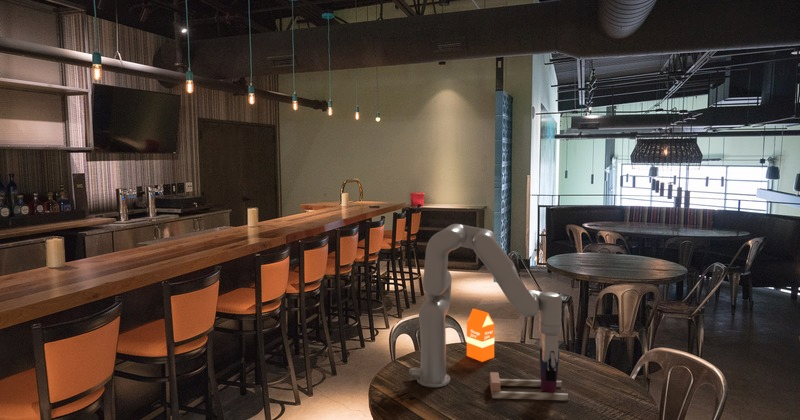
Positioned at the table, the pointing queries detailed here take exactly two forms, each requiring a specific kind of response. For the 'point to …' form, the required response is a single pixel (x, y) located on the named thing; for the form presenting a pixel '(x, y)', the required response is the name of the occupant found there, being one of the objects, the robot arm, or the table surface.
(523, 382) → the track
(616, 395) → the table surface
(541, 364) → the cup
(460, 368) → the table surface
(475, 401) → the table surface
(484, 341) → the orange juice
